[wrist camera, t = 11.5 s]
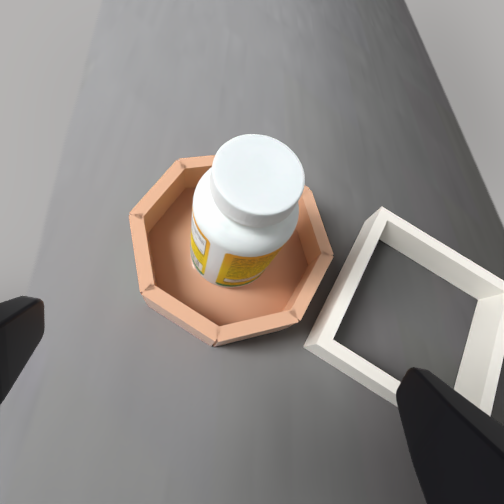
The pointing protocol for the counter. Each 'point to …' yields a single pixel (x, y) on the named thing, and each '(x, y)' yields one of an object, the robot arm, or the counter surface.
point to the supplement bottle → (245, 209)
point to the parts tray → (442, 264)
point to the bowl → (205, 293)
